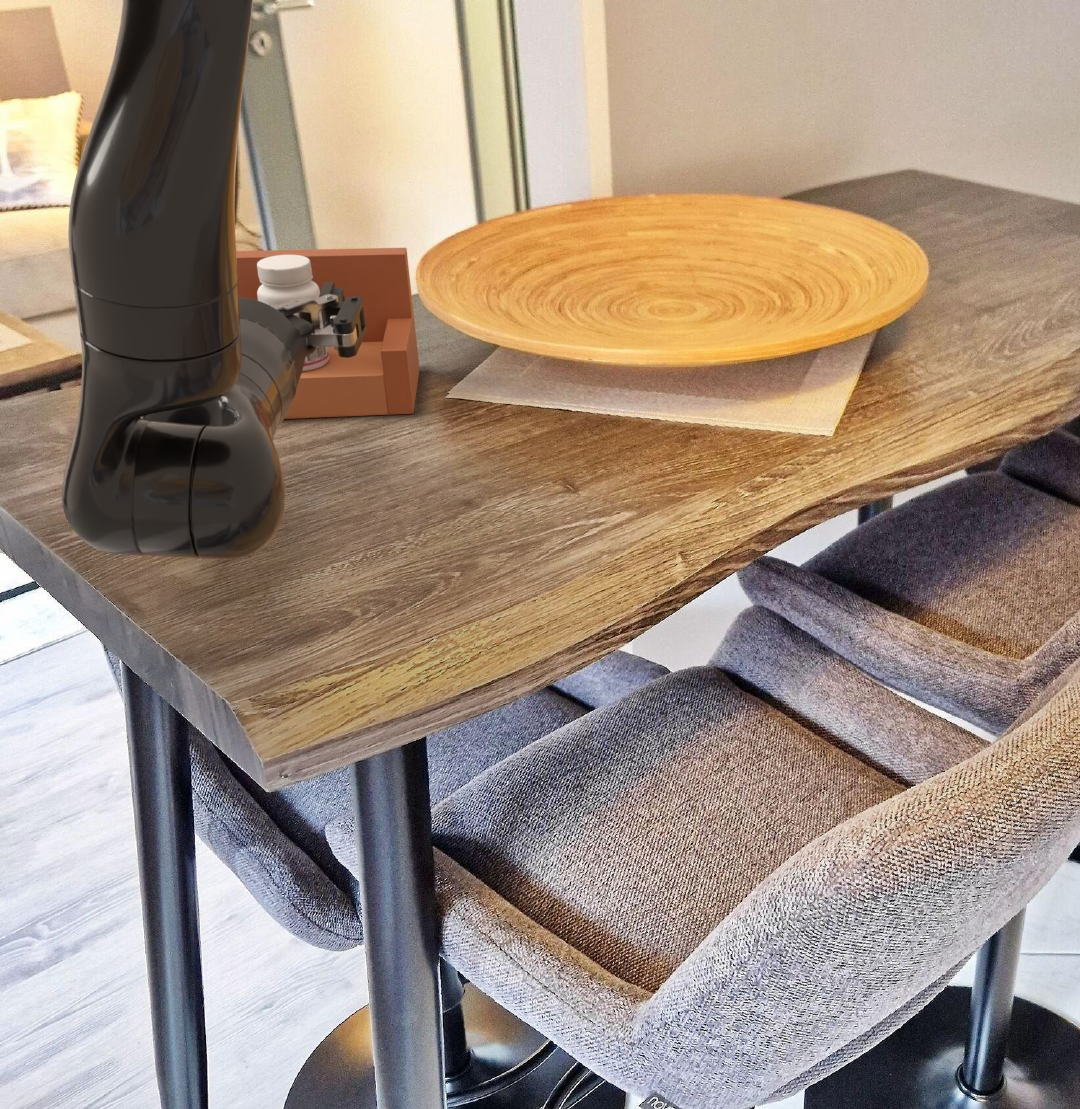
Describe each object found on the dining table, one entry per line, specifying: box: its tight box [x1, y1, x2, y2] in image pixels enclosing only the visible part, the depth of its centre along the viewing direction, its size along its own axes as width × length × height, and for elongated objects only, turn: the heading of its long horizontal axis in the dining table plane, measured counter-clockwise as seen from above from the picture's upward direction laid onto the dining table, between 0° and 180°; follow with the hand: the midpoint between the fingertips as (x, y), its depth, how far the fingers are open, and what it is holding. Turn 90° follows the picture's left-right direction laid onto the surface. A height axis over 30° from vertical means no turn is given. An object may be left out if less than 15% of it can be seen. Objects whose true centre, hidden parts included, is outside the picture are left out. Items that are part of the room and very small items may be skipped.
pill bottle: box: [257, 255, 330, 371], centre depth 98 cm, size 5×5×8 cm
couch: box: [236, 247, 421, 420], centre depth 101 cm, size 18×10×11 cm, turn 100°
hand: (272, 296), depth 92 cm, fingers open, 8 cm apart
